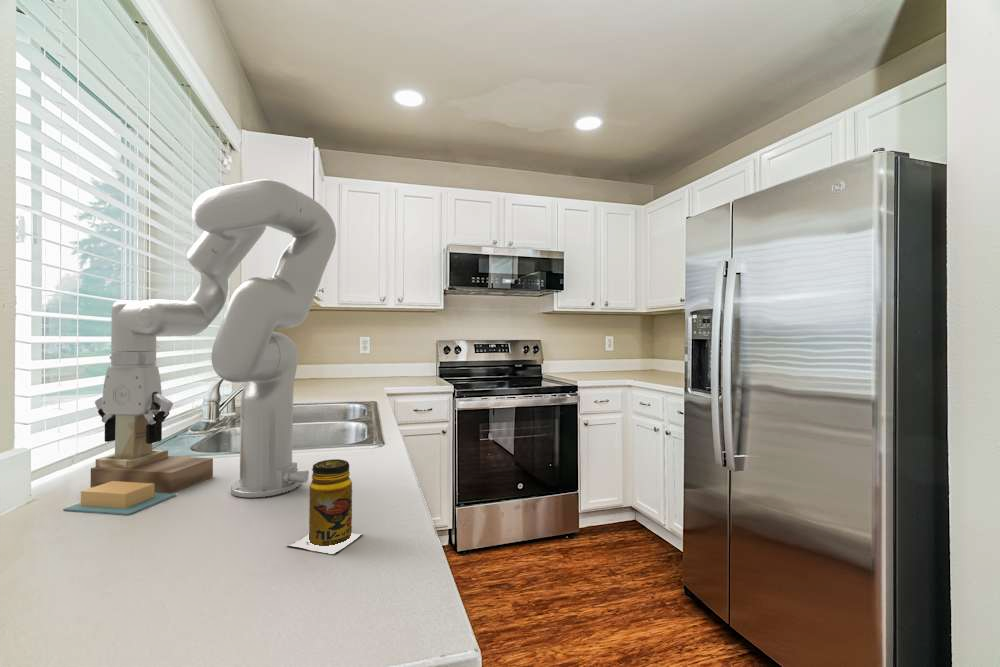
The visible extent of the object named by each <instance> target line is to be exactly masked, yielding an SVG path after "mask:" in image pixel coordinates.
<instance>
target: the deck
mask: <svg viewBox="0 0 1000 667" xmlns="http://www.w3.org/2000/svg"><path fill="white" fill-rule="evenodd" d="M213 475H214V458H213V457H198V456H197V457H195V456H180V455H179V456H176V455H174V456H173V455H169V450H168V449H167V450H166V449H165V450H163V449H152V454H149V455H146V456H142V457H139V458H135V459H132V460H125V459H115V453H114V454H110V455H107V456H103V457H100V458H96V459H95V466H94V467H91V468H90V487H89V488H93V487H96V486H99V485H102V484H105V483H108V482H111V481H120V482H137V483H153V484H154V493H166V494H174V493H176V492H178V491H180V490H183V489H185V488H189V487H190V486H193V485H196V484H198V483H201V482H203V481H205V480H209V479H211V478H213ZM210 477H211V478H210Z"/></svg>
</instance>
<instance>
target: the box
mask: <svg viewBox="0 0 1000 667" xmlns="http://www.w3.org/2000/svg"><path fill="white" fill-rule="evenodd" d="M152 415H153V416H154V414H152ZM147 424H150V423H149V422H148V421H147V419H146V418H145V416H144V415H139V416H128V415H116V426H115V440H114V454H115V459H125V460H132V459H135V458H139V457H142V456H146V455H149V454H152V450H153V443H151V444H147V443H146V426H147Z"/></svg>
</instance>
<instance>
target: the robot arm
mask: <svg viewBox="0 0 1000 667" xmlns="http://www.w3.org/2000/svg"><path fill="white" fill-rule="evenodd" d="M191 217H192V219H193V222H194V223H195V225H196V226H197V227H198V228H199V229H200V230H202V231H203V233H202V234H201V235H200V237H199V238H198V239H197V240H196V241H195V243H194V244H193V246H191V248H190V249H189V250H188V251H187V255H186V258H187V260H188V262H189V264H190V265H191V266H192V267H193V268H194V269H195V270H196V271H197V272H198V273H200V282H199V284H198V286H197V288H196V289H195V291H194V292H193V293H192V295H191V296H190V297H189V298H188V299H187V301H186V300H174V299H173V300H172V299H161V298H160V299H159V298H155V299H145V300H118V301H115V302H114V303H113V304H112V306H111V323H110V324H111V325H110V326H111V333H110V335H111V337H110V341H111V342H110V344H111V345H110V348H111V349H110V351H111V352H110V356H109V360H110V366H107V368H106V372H105V376H104V380H103V381H104V382H103V389H102V396H101V397H100V398H97V399H96V400H95V402H94V404H95V407H96V409H97V410H98V411H97V413H98V415H99V416H100V417H101V422H102V423H104V442H106V443H110V442H115V426H116V415H128V416H139V415H144V416H145V418H146V419H147V421H148V422H149V423H150V424H147V426H146V443H147V444H151V443H152V444H154V443H158V442H161V441H162V438H163V437H162V435H163V434H162V433H163V431H162V430H163V424H162V423H165V421H166V419H167V417H169V415H170V411H171V409H172V408H173V405H174V403H173V401H172V400H169V399H167V398H166V397H165V396H162V382H161V375H160V370H159V367H158V366H157V337H185V336H186V337H191V336H196V335H198V334H201V333H202V332H203V331H205V330H206V329H207V328H208V327H209V326H210V325H211V324H212V322H214V320H215V319H216V317H217V316H218V315H219V314H220V312H222V310H223V308H224V306H225V304H226V302H227V298H228V293H229V278H230V277H231V275H232V274H233V272H234V271H235V270H236V269H237V268H238V266H239V265H240V263H241V262H242V261H243V260H244V259H245V258H246V256H247V255H248V254H249V252H250V251H251V250H252V249H253V248H254V246H255V244H256V243H257V242H258V241H259V239H261V237H262V235H263V234H264V232H265V230H266V228H267V227H270V228H272V229H274V230H278V231H281V232H283V233H286V234H289V235H291V236H292V238H293V239H292V241H291V242H290V243H289V244H288V245H287V246H286V247H285V249H284V250H283V251H282V253H281V255H280V257H279V259H278V261H277V265H276V268H275V270H274V272H273V274H272V277H269V276H255V277H251V278H250V277H249V278H248V279H246V280H245V281H242V283H240V285H239V286H238V287H236V289H235V290H234V291H233V293H232V295H231V297H230V300H229V301H228V305H227V307H226V310H225V313H224V315H223V318H222V320H221V324H220V325H219V329H218V331H217V334H216V337H215V339H214V342H213V346H212V349H211V357H210V358H211V365H212V368H213V370H214V372H215V374H216V375H217V376H218V377H219V378H220V379H222V380H223V381H224V380H225V381H226V382H230V383H234V384H235V383H244V386H243V390H242V392H241V398H240V417H239V418H240V420H239V421H240V422H239V424H240V426H239V428H240V429H239V432H240V433H239V434H240V435H239V437H240V438H239V448H240V449H239V480H237V481H235V482H233V483H232V485H230V493H231V494H232V495H233V496H236V497H239V498H250V499H251V498H265V497H266V496H267V497H271V496H272V497H273V496H277V494H278V495H282V494H285V492H286V493H288V491H289V492H291V491H293V490H295V489H296V487H297V488H299V486H300V484H301V483H302V484H306V483H307V482H308V480H309V474H310V471H309V470H304V469H302V470H301V469H300V470H299V469H298V462H293V422H294V421H293V417H294V416H293V414H294V413H293V411H294V386H295V380H296V375H297V369H298V362H299V352H298V348H297V346H296V344H295V343H294V341H293V340H292V338H290V337H289V336H287V335H286V334H285V333H281V332H279V331H274V330H275V329H293V328H296V327H299V326H300V325H302V324H303V323H304V322H305V321H306V319H307V317H308V316H309V315H308V314H309V313H310V311H311V309H312V305H313V303H314V299H315V298H316V295H317V291H318V289H319V286H320V284H321V281H322V277H323V275H324V272H325V269H326V267H327V265H328V263H329V260H330V257H331V256H332V253H333V251H334V249H335V244H336V241H337V238H336V237H337V230H336V226H335V221H334V220H333V218H332V216H331V215H330V214H329V212H328V211H327V210H326V208H324V206H322V205H321V204H320V202H318V201H316V200H315V199H313V198H312V197H310V196H309V195H306V194H305V193H303V192H301V191H299V190H297V189H295V188H293V187H291V186H289V185H287V184H286V183H284V182H281V181H279V180H274V179H267V178H265V179H256V180H252V181H243V182H240V183H234V184H229V185H224V186H219V187H214V188H212V189H208V190H206V191H205V192H203V193H201V194H200V195H199V196H198V197H197V198H196V200H195V201H194V203H193V205H192V209H191ZM152 414H153V415H152ZM281 493H282V494H281ZM267 497H266V498H267Z"/></svg>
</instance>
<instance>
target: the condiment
mask: <svg viewBox="0 0 1000 667" xmlns="http://www.w3.org/2000/svg"><path fill="white" fill-rule="evenodd" d="M311 470H312V474H311V482H310V484H309V508H308V510H309V515H308V516H309V518H308V520H309V522H308V525H309V526H308V528H309V530H308V531H309V532H308V533H309V540H310V543H312V544H314V545H319V546H329V545H335V544H338V543H341V542H344V541H346V540H347V539H349V538H350V536H351V533H352V532H353V525H352V524H353V521H352V519H353V513H352V512H353V504H352V503H353V501H352V500H353V489H352V488H353V485H352V484H353V481H352V479H351V478H350V475H351V474H350V464H349V462H348V461H347V460H344V459H336V458H334V459H324V460H320V461H318V462H315V463H314V464H312V469H311Z"/></svg>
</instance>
